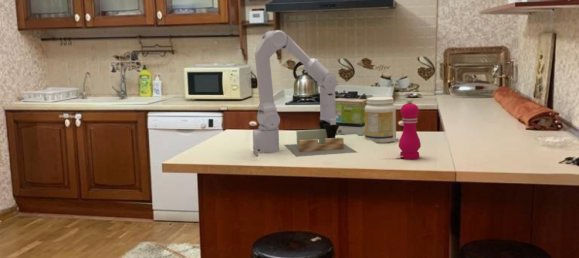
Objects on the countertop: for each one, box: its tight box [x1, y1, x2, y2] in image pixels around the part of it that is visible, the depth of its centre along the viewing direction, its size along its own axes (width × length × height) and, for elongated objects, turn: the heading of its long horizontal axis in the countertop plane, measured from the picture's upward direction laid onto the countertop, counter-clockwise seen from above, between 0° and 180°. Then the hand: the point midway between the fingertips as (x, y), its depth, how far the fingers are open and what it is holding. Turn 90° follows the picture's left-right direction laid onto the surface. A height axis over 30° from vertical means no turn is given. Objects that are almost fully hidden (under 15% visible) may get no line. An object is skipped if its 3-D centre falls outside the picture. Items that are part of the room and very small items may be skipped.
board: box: [283, 142, 358, 158], centre depth 208 cm, size 22×23×1 cm
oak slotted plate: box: [299, 137, 345, 152], centre depth 204 cm, size 16×2×4 cm, turn 101°
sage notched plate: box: [296, 128, 327, 147], centre depth 212 cm, size 14×2×6 cm, turn 101°
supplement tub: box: [364, 96, 397, 144], centre depth 224 cm, size 12×12×17 cm
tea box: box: [335, 97, 368, 136], centre depth 244 cm, size 15×10×15 cm
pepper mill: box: [398, 98, 422, 161], centre depth 190 cm, size 7×7×20 cm
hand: (328, 141), depth 214 cm, fingers open, 7 cm apart
